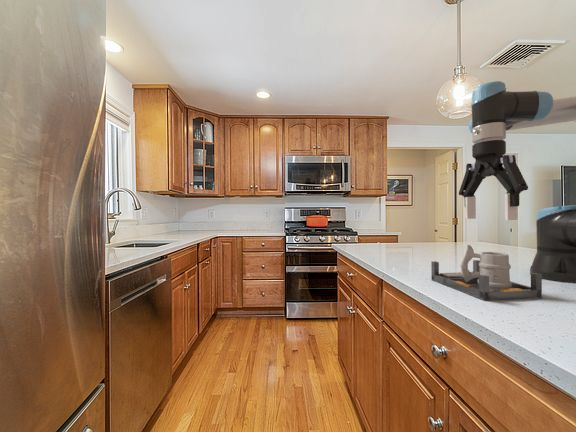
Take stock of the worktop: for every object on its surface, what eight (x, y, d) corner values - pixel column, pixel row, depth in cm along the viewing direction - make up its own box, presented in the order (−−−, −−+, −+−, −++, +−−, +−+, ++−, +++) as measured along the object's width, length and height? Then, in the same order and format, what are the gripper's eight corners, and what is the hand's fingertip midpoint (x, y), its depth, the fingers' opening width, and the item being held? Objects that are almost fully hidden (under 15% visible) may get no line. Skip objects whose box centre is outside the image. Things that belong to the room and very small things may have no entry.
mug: (514, 294, 72) (514, 248, 72) (460, 288, 78) (460, 245, 78) (509, 287, 79) (509, 245, 78) (460, 282, 85) (460, 242, 85)
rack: (477, 278, 92) (477, 260, 92) (541, 297, 71) (542, 274, 71) (431, 280, 90) (431, 261, 90) (483, 300, 69) (483, 276, 69)
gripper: (445, 151, 89) (446, 218, 89) (518, 128, 64) (518, 220, 64) (467, 151, 90) (468, 217, 90) (547, 128, 65) (547, 220, 65)
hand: (489, 219), depth 77 cm, fingers open, 13 cm apart
